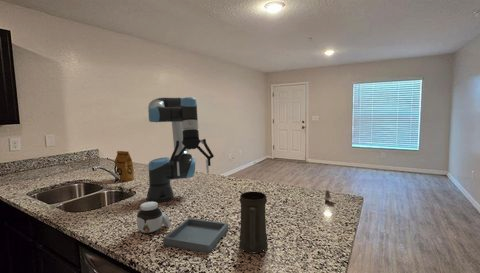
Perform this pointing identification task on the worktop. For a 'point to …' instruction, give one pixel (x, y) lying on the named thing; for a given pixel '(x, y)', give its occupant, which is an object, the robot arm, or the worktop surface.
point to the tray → (196, 235)
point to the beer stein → (253, 222)
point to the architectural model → (327, 196)
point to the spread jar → (151, 218)
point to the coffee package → (124, 166)
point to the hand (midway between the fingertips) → (193, 174)
